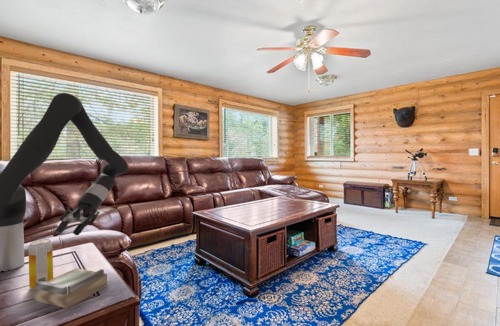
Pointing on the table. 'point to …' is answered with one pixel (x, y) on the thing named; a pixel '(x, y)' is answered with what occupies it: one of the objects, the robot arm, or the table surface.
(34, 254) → the beer can
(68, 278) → the square tray
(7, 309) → the table surface
